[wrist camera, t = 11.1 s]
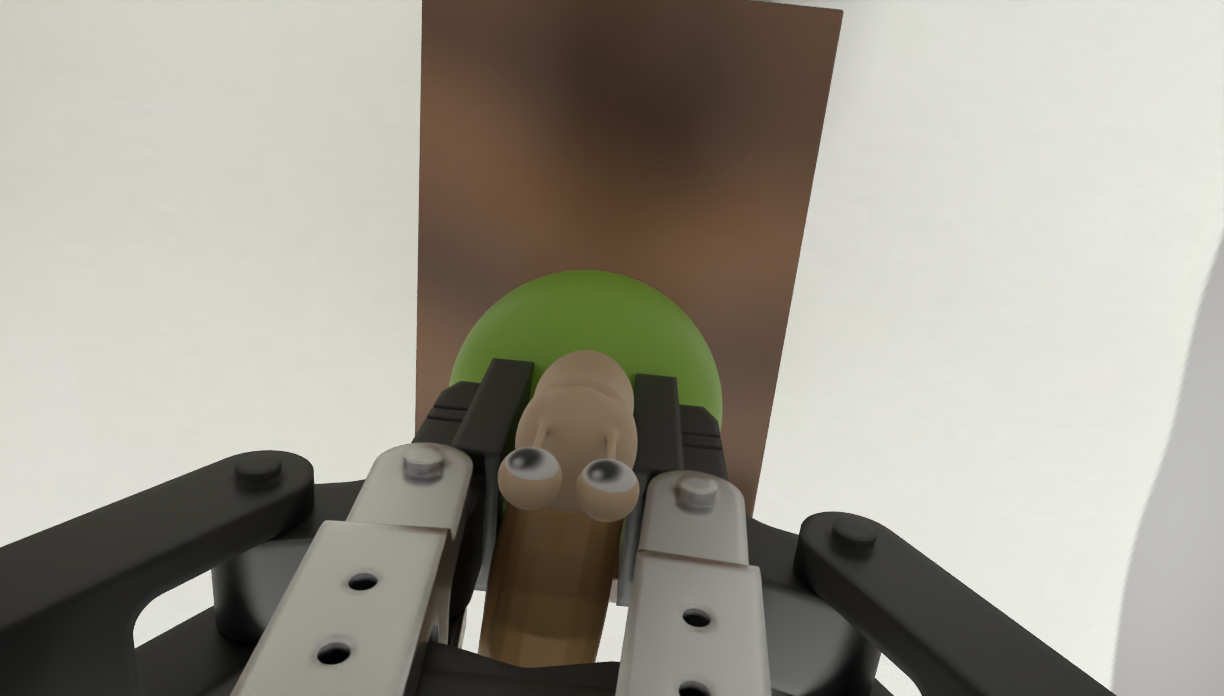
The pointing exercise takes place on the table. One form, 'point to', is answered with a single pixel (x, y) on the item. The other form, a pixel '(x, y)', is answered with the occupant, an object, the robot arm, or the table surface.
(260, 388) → the table surface
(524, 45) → the box
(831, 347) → the table surface
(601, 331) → the snail figurine
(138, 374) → the table surface
